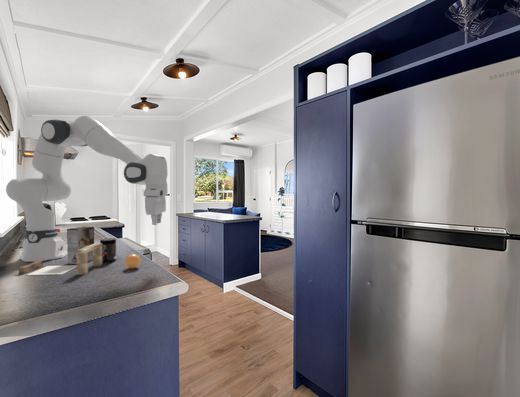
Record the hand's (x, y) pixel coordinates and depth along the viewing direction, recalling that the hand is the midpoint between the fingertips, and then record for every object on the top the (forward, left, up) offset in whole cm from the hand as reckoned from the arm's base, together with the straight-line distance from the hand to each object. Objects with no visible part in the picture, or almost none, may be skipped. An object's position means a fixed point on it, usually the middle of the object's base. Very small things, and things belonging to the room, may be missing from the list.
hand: (156, 223), depth 119 cm
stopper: (-1, -50, -19) cm, 54 cm away
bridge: (0, -27, -19) cm, 33 cm away
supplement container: (-14, -25, -19) cm, 35 cm away
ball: (0, -10, -16) cm, 19 cm away
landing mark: (0, -41, -19) cm, 45 cm away
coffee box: (-14, -37, -19) cm, 44 cm away
